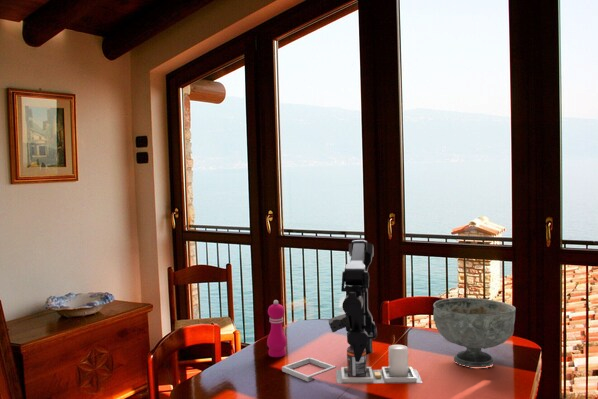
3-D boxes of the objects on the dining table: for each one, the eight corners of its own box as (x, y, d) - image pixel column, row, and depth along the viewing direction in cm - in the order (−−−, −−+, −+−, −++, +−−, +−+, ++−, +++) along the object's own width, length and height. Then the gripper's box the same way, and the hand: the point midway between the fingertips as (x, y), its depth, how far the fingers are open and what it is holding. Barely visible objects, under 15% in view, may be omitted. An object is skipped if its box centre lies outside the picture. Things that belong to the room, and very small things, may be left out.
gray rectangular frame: (416, 373, 173) (416, 365, 172) (422, 386, 162) (422, 379, 161) (336, 373, 174) (335, 366, 174) (336, 387, 163) (336, 379, 163)
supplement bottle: (345, 373, 171) (345, 338, 170) (364, 372, 171) (363, 337, 171) (349, 380, 165) (348, 344, 164) (368, 379, 165) (367, 343, 165)
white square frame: (309, 361, 186) (309, 357, 185) (335, 370, 176) (335, 366, 176) (282, 371, 177) (281, 366, 177) (307, 381, 168) (307, 376, 168)
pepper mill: (284, 358, 189) (283, 302, 188) (264, 357, 191) (263, 302, 190) (289, 351, 196) (287, 297, 195) (270, 350, 198) (268, 297, 197)
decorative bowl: (427, 369, 174) (429, 308, 173) (435, 346, 198) (437, 292, 197) (515, 381, 165) (517, 317, 164) (512, 356, 189) (514, 300, 188)
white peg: (396, 371, 172) (396, 343, 171) (412, 375, 167) (411, 347, 167) (385, 376, 168) (384, 347, 167) (400, 381, 163) (400, 352, 163)
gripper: (329, 300, 177) (330, 346, 177) (330, 315, 158) (331, 367, 159) (363, 299, 176) (364, 346, 177) (367, 315, 157) (368, 367, 158)
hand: (356, 356), depth 168 cm, fingers open, 9 cm apart
